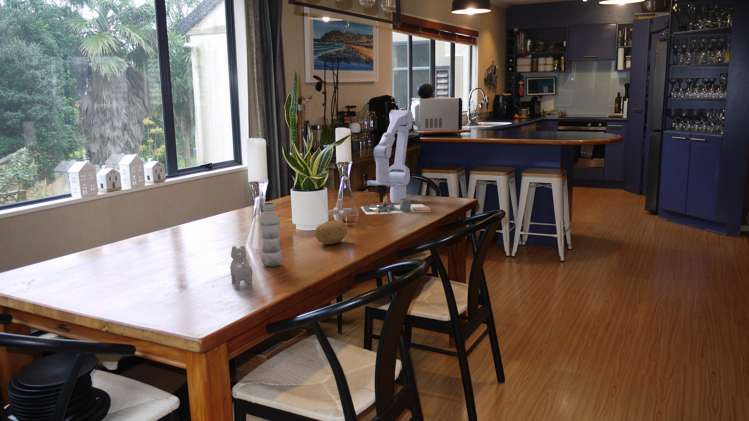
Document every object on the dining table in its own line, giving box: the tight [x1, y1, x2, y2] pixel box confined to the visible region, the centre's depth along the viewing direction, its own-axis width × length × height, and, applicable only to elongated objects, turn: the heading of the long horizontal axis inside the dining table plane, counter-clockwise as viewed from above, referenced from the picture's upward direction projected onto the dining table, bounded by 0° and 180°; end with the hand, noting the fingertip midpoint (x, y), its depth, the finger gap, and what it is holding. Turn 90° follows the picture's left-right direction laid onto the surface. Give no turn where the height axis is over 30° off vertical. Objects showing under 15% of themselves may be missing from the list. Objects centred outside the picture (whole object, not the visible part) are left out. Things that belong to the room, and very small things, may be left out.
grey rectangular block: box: [399, 197, 412, 213], centre depth 271 cm, size 6×4×5 cm, turn 10°
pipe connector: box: [327, 198, 353, 221], centre depth 253 cm, size 10×10×10 cm
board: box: [360, 203, 432, 215], centre depth 276 cm, size 17×29×2 cm, turn 100°
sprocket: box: [363, 195, 396, 214], centre depth 274 cm, size 14×14×6 cm
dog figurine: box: [229, 245, 254, 291], centre depth 177 cm, size 5×13×11 cm, turn 23°
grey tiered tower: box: [258, 202, 283, 267], centre depth 194 cm, size 6×7×20 cm
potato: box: [314, 219, 348, 246], centre depth 221 cm, size 10×14×8 cm
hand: (382, 201), depth 278 cm, fingers closed, pressing on sprocket
